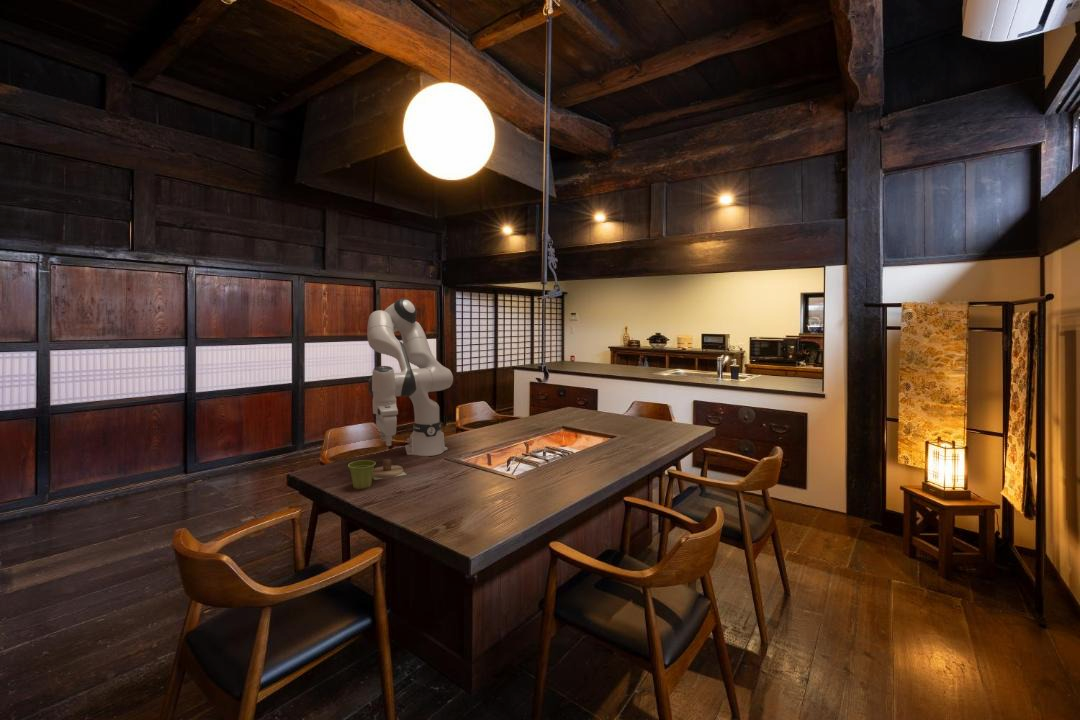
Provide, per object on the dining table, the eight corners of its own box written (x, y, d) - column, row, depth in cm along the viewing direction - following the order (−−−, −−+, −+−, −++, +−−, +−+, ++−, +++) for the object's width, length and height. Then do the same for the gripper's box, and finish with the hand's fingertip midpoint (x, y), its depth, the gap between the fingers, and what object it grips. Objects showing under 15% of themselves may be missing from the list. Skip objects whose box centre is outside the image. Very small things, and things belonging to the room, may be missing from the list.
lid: (368, 471, 185) (368, 458, 185) (399, 466, 192) (398, 453, 191) (374, 479, 175) (374, 466, 175) (406, 474, 181) (406, 461, 181)
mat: (368, 472, 185) (368, 470, 185) (399, 467, 192) (398, 466, 192) (374, 481, 175) (374, 479, 175) (406, 476, 181) (406, 474, 181)
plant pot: (372, 480, 176) (372, 458, 175) (379, 488, 168) (378, 464, 167) (346, 485, 171) (345, 462, 170) (351, 493, 163) (351, 469, 162)
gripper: (371, 405, 189) (372, 439, 189) (381, 412, 171) (382, 449, 172) (387, 403, 192) (388, 437, 193) (399, 410, 174) (400, 447, 175)
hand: (386, 443), depth 182 cm, fingers open, 8 cm apart
